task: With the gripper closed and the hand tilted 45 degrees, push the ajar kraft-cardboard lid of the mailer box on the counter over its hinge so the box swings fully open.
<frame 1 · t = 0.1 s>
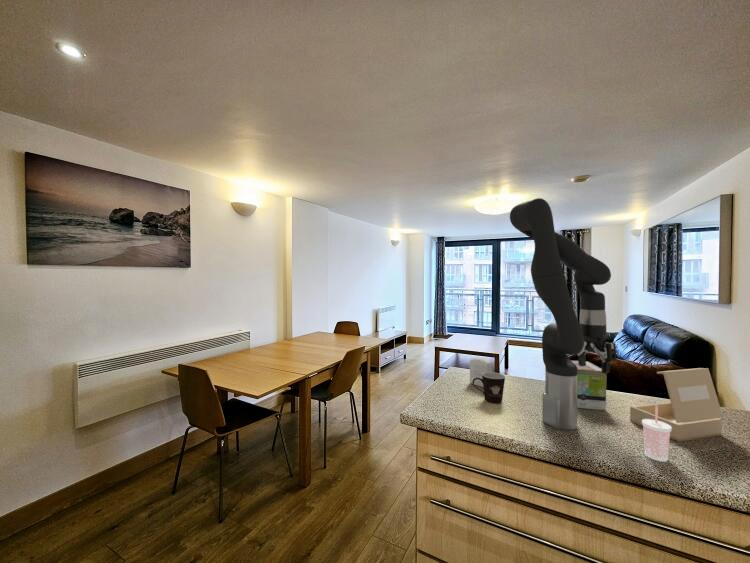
hand: (593, 369, 108), 17 cm above the worktop, tool pointing down, fingers open, 8 cm apart
beverage cup: (655, 457, 86), on the worktop
lid: (689, 394, 99), point 13 cm above the worktop, hinge at 75.0°
photo printer: (480, 385, 143), on the worktop
mailer box: (673, 427, 103), on the worktop
tea box: (582, 402, 124), on the worktop
coffee mug: (489, 400, 126), on the worktop
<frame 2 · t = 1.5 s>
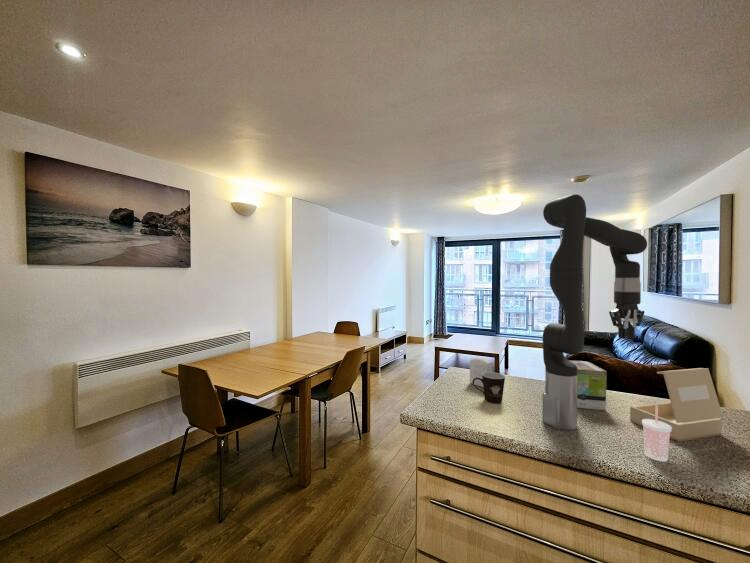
hand: (626, 338, 114), 27 cm above the worktop, tool pointing down, fingers open, 3 cm apart
nothing on the worktop moved.
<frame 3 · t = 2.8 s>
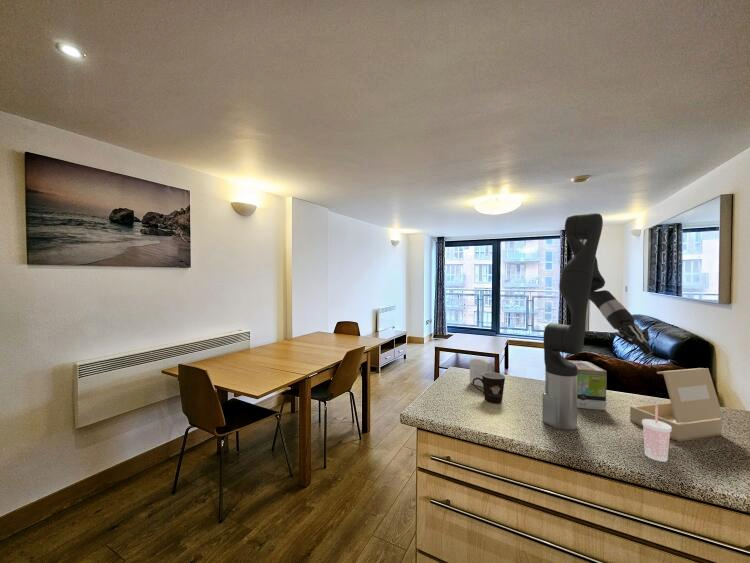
hand: (650, 353, 110), 23 cm above the worktop, tool tilted 45°, fingers closed
nothing on the worktop moved.
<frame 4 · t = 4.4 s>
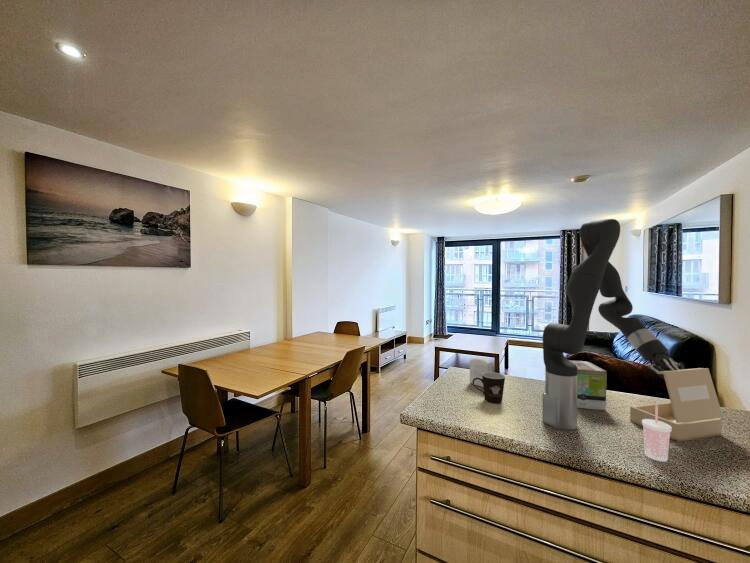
hand: (688, 391, 99), 13 cm above the worktop, tool tilted 45°, fingers closed
lid: (689, 394, 99), point 13 cm above the worktop, hinge at 75.0°, touching gripper
everything else where it was.
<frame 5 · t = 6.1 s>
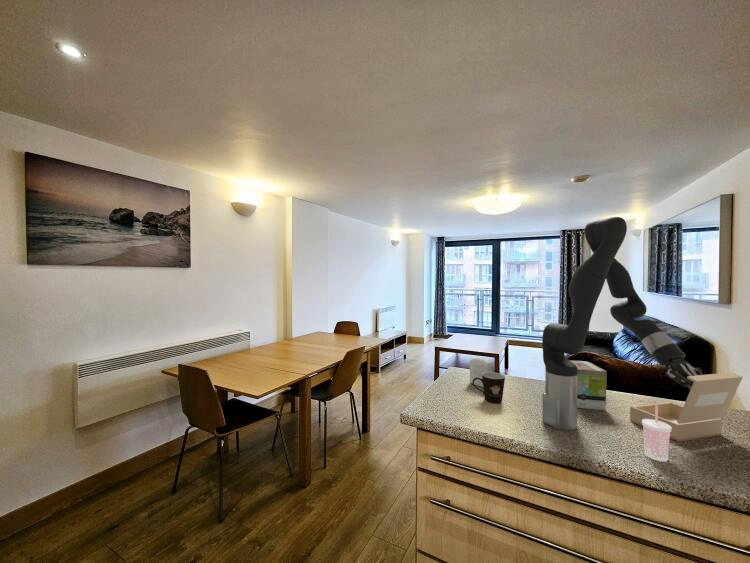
hand: (707, 398, 94), 13 cm above the worktop, tool tilted 45°, fingers closed
lid: (706, 397, 95), point 13 cm above the worktop, hinge at 106.7°, touching gripper
everything else where it was.
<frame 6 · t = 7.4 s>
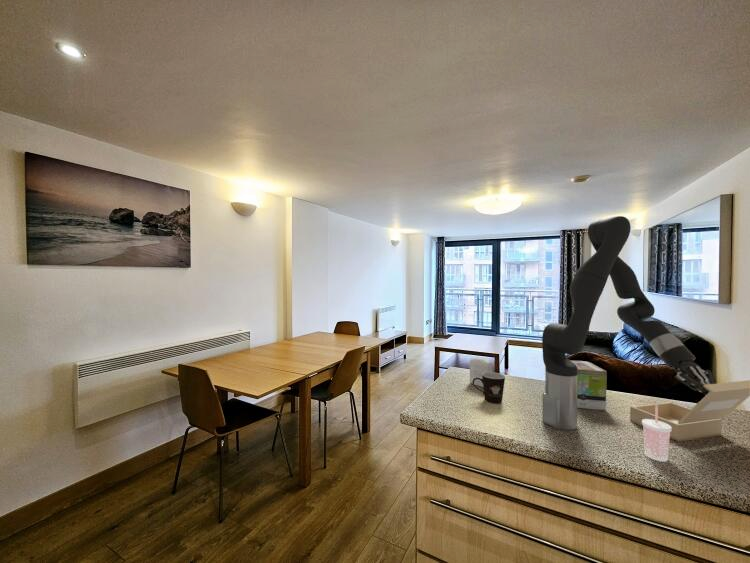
hand: (718, 402, 92), 12 cm above the worktop, tool tilted 45°, fingers closed
lid: (714, 402, 93), point 12 cm above the worktop, hinge at 122.4°, touching gripper
everything else where it was.
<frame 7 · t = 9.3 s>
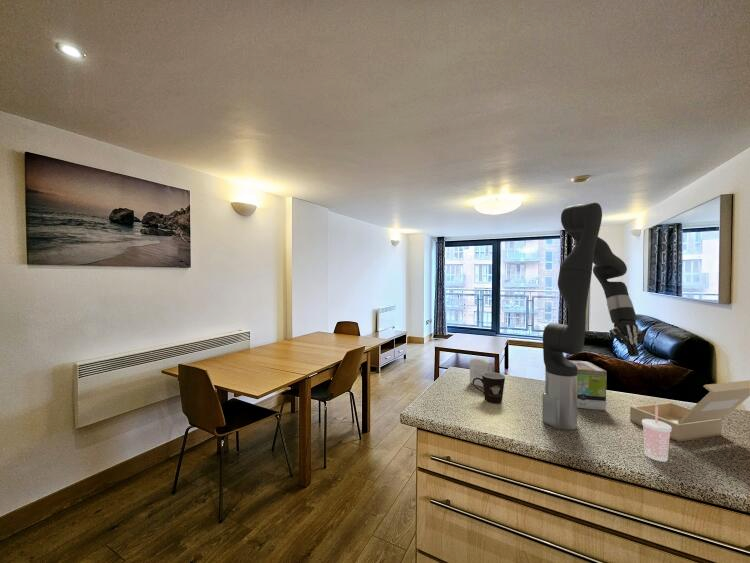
hand: (634, 356, 111), 21 cm above the worktop, tool tilted 25°, fingers closed
lid: (714, 402, 93), point 12 cm above the worktop, hinge at 122.4°
everything else where it was.
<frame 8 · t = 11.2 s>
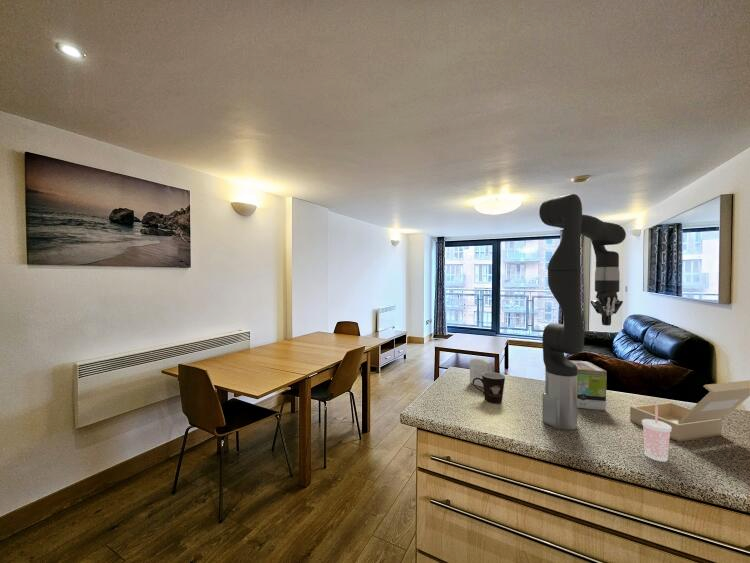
hand: (606, 325, 119), 31 cm above the worktop, tool pointing down, fingers closed
nothing on the worktop moved.
at the end: lid at +122° (first picture: +75°); lid touching nothing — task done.
